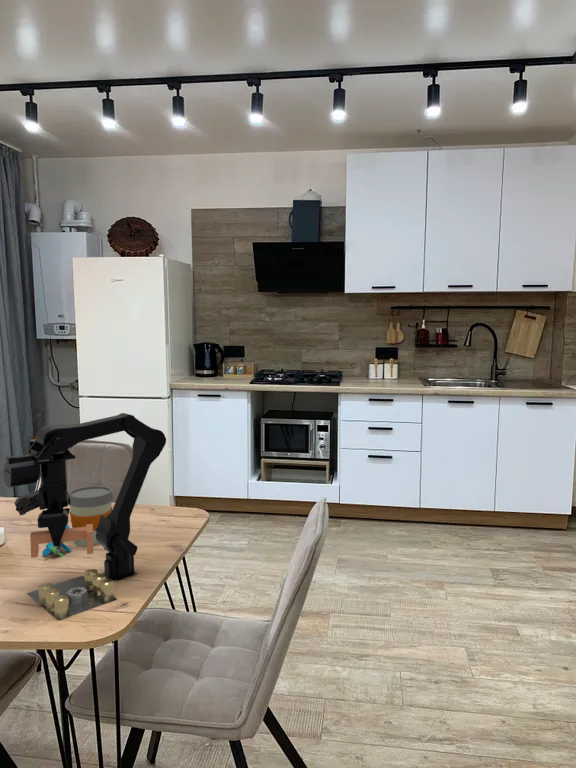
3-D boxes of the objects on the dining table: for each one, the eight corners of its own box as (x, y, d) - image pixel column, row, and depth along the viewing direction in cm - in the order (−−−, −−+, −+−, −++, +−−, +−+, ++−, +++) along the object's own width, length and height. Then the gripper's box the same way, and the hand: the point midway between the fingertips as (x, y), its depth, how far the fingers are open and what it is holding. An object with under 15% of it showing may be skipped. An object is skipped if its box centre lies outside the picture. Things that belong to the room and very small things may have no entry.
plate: (82, 577, 149) (82, 560, 149) (117, 601, 136) (117, 582, 136) (26, 595, 140) (25, 577, 139) (58, 623, 127) (57, 602, 126)
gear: (44, 541, 170) (69, 517, 169) (61, 553, 171) (84, 530, 171) (35, 561, 159) (61, 536, 159) (52, 574, 161) (78, 549, 160)
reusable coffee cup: (78, 552, 166) (76, 500, 164) (63, 539, 175) (61, 491, 174) (121, 542, 174) (119, 492, 172) (104, 530, 183) (102, 483, 182)
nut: (80, 594, 139) (80, 585, 139) (89, 601, 136) (89, 591, 135) (64, 600, 136) (63, 590, 136) (73, 606, 133) (72, 597, 133)
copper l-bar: (32, 551, 140) (31, 529, 140) (93, 544, 145) (92, 523, 144) (30, 560, 135) (29, 538, 134) (93, 553, 139) (92, 531, 139)
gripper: (21, 472, 144) (24, 534, 145) (10, 493, 126) (14, 563, 128) (69, 469, 147) (72, 529, 149) (66, 489, 130) (69, 557, 131)
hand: (56, 543), depth 139 cm, fingers closed on copper l-bar, 3 cm apart
